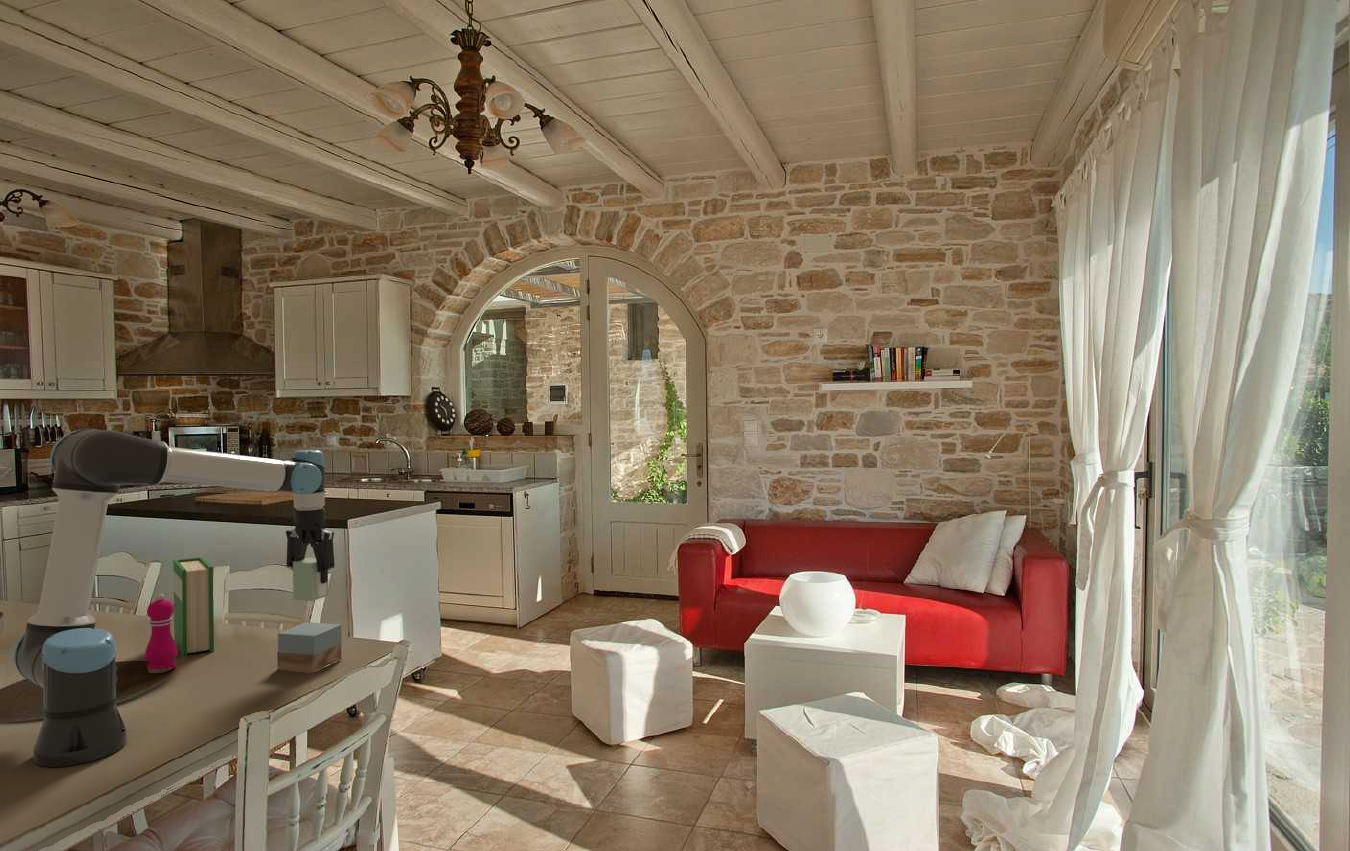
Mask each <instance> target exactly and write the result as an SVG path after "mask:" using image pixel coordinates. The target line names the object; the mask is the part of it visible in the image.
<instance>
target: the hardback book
mask: <svg viewBox="0 0 1350 851" xmlns="http://www.w3.org/2000/svg"><path fill="white" fill-rule="evenodd" d="M172 565H173V566H172V567H173V605H174V612H173V630H174V631H173V632H174V634H173V635H174V636H173V637H174V638H173V640H174V641H175V643H176V646H177V650H178V652H180V654H181V656H182V658H186V657H188V654H191V653H197V652H203V651H204V652H205V651H209V653H214V652H215V639H214V638H215V635H214V634H215V633H214V632H215V631H214V630H215V625H214V624H215V622H214V617H215V616H214V566H213V565H212V564H210V563H209V562H208V561H207V559H205V558H204V557H203V556H201V557H191V558H181V559H173V562H172Z"/></svg>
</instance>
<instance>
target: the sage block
mask: <svg viewBox="0 0 1350 851" xmlns="http://www.w3.org/2000/svg"><path fill="white" fill-rule="evenodd" d="M318 570H319V569H318V565H317V561H316V558H315V557H305V558H304V559H302V560H298V561H295V562H293V569H292V583H293V586H292V587H293V590H292V591H293V600H294V601H295V600H297V601H307V602H314V601H318V600H320V599H323V598H326V597H328V596H329V581H328V582H327V583H326V594H325V595H322V596H319V597H318V596H317V586H316V572H317V571H318Z"/></svg>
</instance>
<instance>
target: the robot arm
mask: <svg viewBox="0 0 1350 851" xmlns="http://www.w3.org/2000/svg"><path fill="white" fill-rule="evenodd" d="M50 464H51V467H52V470H53V471H54V475H53V476H54V477H53V480H52V482H53V483H52V487H51V490H52V491H53V492H54V493H55V494H56V495H57V496H58V503H57V508H56V515H55V519H54V526H53V530H52V536H51V542H50V547H49V552H48V556H47V562H46V563H47V564H46V567H45V574H44V577H43V578H44V579H43V583H42V584H43V585H42V590H41V594H40V601H39V606H38V611H37V612H36V613H35V614H33V615H32V616H31V617H29V618H27V621H26V626H25V632H24V634H22V636H21V637H20V638H19V639H18V641H17V642H16V644H15V647H14V650H13V662H14V665H15V668H16V670H17V671H18V673H19V674H20V675H21V676H22V677H23V678H24V679H26V681H28V682H30V683H32V684H35V685H37V686H38V687H40V689H41V688H42V690H43V694H42V695H43V721H42V724H41V727H40V729H39V733H38V735H37V739H36V742H35V744H34V746H33V750H32V754H33V756H32V761H33V763H34V764H35V765H36V766H40V767H46V768H47V767H48V768H57V767H61V768H62V767H68V766H75V765H81V764H85V763H90V762H93V761H96V760H100V759H102V758H105V757H108V756H110V755H112V754H114V753H116V752H118V751H120V750H121V749H123V748H124V747H125V746H126V744H127V742H128V731H127V728H126V726H125V723H124V721H123V718H122V716H121V714H120V712H119V709H118V707H117V685H116V684H117V682H116V681H117V679H116V676H117V674H116V671H117V670H116V668H117V667H116V666H117V662H116V656H117V646H116V642H115V638H114V635H113V634H112V633H111V632H110V631H108V630H105V629H102V628H95V627H96V621H97V620H96V619H95V617H94V616H92V614H91V613H90V606H91V600H92V595H93V590H94V585H95V584H94V583H95V577H96V572H97V566H98V560H99V556H100V550H101V545H102V544H101V543H102V538H103V533H104V527H105V522H106V516H107V510H108V506H109V502H110V500H112V499H114V498H115V497H116V496H118V495H119V491H120V486H125V485H126V486H127V485H129V486H130V485H131V486H132V485H133V486H134V485H139V486H140V485H144V486H145V485H147V486H158V485H160V484H162V483H163V482H167V483H177V484H190V485H202V486H213V487H214V486H215V487H223V488H236V489H247V490H248V489H249V490H250V491H251V492H252V491H253V492H254V491H256V492H257V491H261V492H264V491H269V492H271V491H272V492H273V491H274V492H280V493H281V492H282V493H292V494H293V508H294V509H295V510H294V511H293V523H294V524H295V527H294V528H293V529H292V528H291V529H288V530H285V535H286V538H287V541H286V542H287V543H286V567H287V568H291V570H293V562H295V561H298V560H302V559H306V553H307V550H308V546H309V544H310V547H311V548H312V550H313V554H314V558H316V561H317V565H318V569H319V570H318V571H317V572H316V586H317V596H318V597H319V596H322V595H325V594H326V583H327V582H328V583H329V570H332V569H334V568H335V566H336V565H335V552H334V538H335V537H334V536H335V532H334V531H333V530H330V531H329V530H326V528H325V526H324V523H325V521H326V509H325V508H324V506H325V505H326V502H325V500H326V499H325V496H326V494H325V492H326V491H325V468H326V466H325V458H324V453H323V451H321V450H319V449H301V450H294V451H293V452H292V457H291V458H288V459H273V458H265V457H257V456H250V455H249V456H248V455H240V454H232V453H226V452H225V453H223V452H216V451H207V450H199V449H192V448H191V449H190V448H185V447H184V448H183V447H175V446H169V445H168V444H167V443H166V442H165V441H162V440H155V439H150V438H145V437H140V436H137V435H132V434H128V433H125V432H120V431H117V430H107V429H97V428H83V429H82V428H81V429H77V430H74V431H71V432H69V433H66V434H64V435H63V436H62V437H61V438H59V439H58V440H57V441H56V443H55V444H54V445H53V447H52V449H51V452H50Z"/></svg>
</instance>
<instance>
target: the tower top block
mask: <svg viewBox="0 0 1350 851" xmlns="http://www.w3.org/2000/svg"><path fill="white" fill-rule="evenodd" d="M342 636H343V635H342V624H340V623H337V624H336V623H325V622H311V621H305V622H303V623H301V624H298V625H295V626H292V627H291V628H288V629H285V630H283V631H280V632H278V633H277V652H281V653H292V654H303V655H317V654H319V653H321V652H323V651H325V650H327V649H329V648H332V647H334V646H336V645H338V644H340V643H341V644H342Z"/></svg>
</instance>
